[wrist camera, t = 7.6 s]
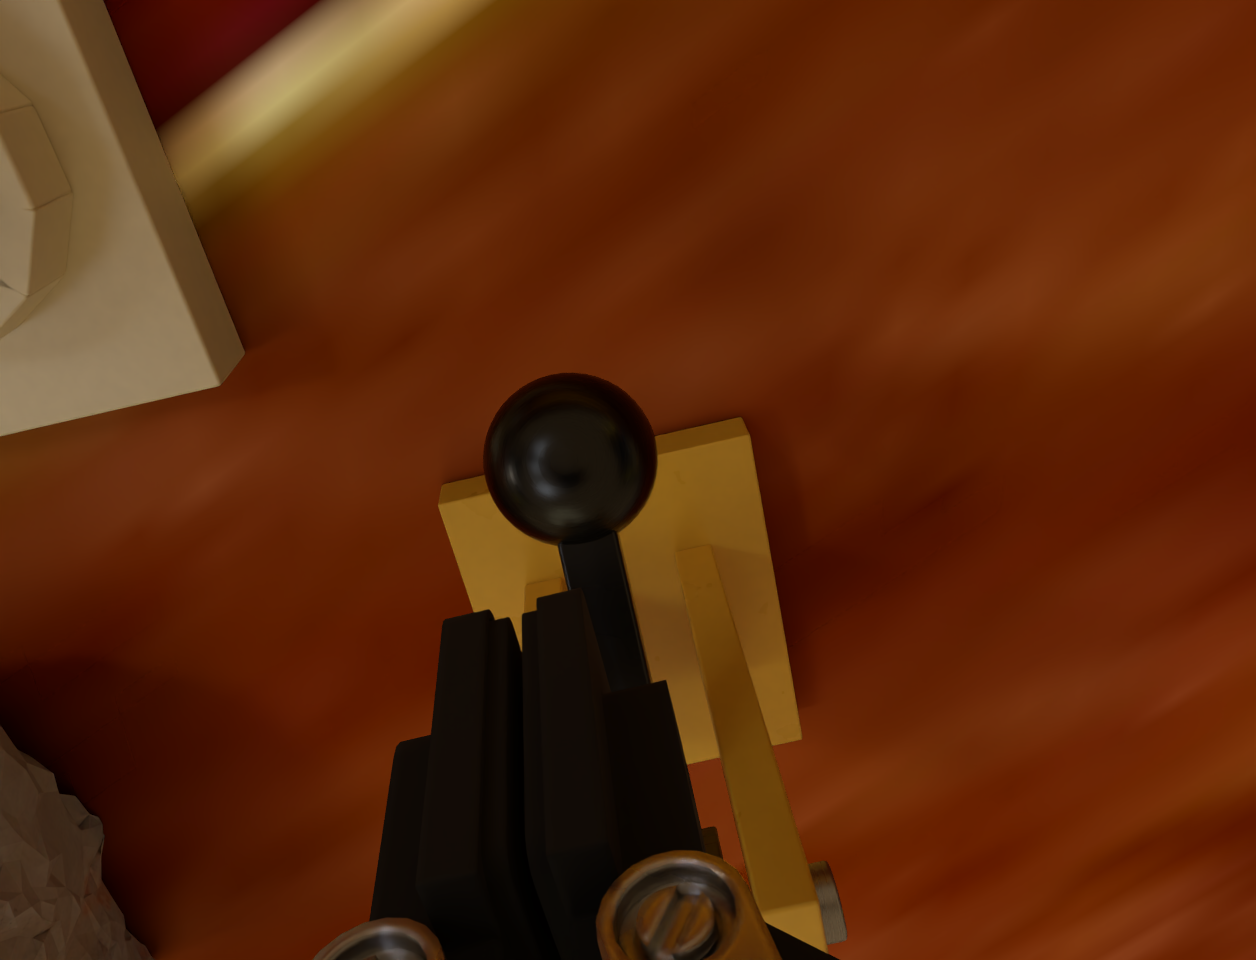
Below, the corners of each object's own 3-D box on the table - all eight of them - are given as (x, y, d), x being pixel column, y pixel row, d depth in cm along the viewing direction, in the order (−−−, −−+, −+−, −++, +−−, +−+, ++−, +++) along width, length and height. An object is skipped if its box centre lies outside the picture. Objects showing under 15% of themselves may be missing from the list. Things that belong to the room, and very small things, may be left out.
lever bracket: (441, 483, 27) (369, 864, 15) (741, 415, 27) (895, 749, 15) (536, 770, 31) (534, 1230, 20) (794, 713, 31) (943, 1145, 20)
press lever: (481, 398, 20) (450, 388, 17) (637, 363, 20) (635, 346, 17) (614, 980, 21) (607, 1076, 18) (768, 947, 21) (791, 1037, 17)
